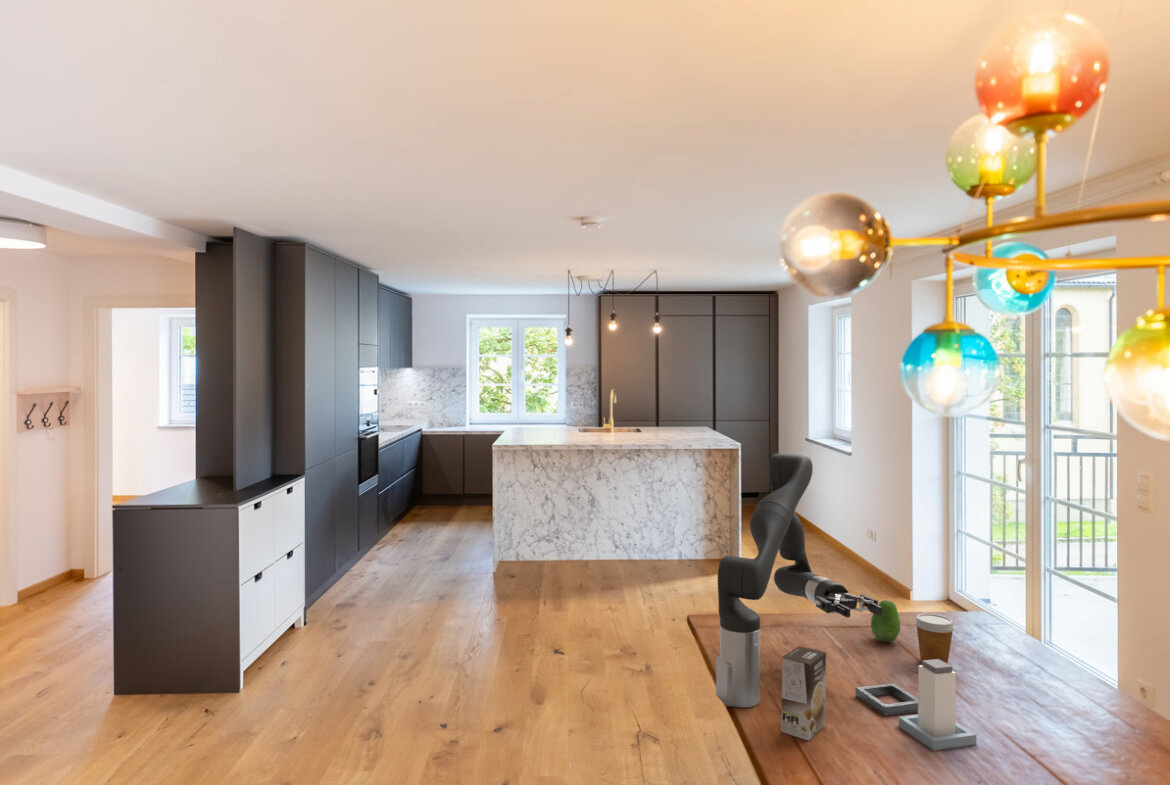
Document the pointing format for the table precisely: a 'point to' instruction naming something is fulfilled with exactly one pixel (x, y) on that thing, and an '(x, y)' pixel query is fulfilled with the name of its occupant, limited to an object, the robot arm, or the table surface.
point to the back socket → (886, 689)
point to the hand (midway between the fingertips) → (864, 612)
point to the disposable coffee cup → (934, 636)
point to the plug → (936, 698)
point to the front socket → (942, 742)
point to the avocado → (886, 623)
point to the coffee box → (803, 692)
